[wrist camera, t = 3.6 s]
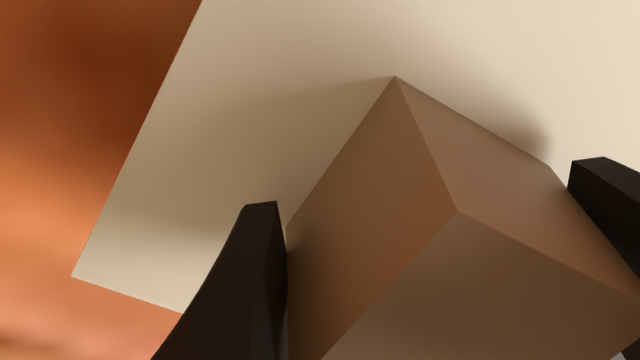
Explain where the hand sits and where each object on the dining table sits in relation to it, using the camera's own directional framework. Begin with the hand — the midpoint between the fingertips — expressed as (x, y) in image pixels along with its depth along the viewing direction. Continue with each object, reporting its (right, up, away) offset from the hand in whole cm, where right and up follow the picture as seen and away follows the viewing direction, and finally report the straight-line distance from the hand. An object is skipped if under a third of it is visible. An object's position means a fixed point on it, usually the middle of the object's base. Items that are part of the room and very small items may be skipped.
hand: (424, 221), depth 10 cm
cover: (0, +1, +1) cm, 2 cm away
